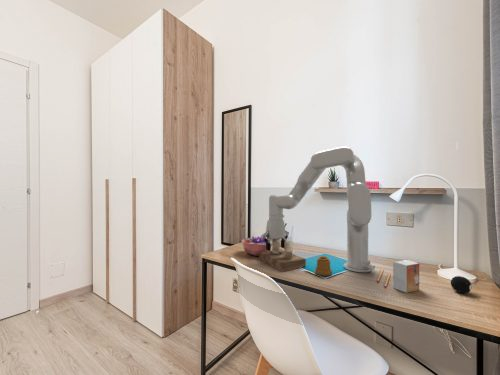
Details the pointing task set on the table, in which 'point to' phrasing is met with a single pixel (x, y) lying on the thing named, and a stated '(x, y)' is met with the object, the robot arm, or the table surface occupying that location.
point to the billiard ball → (461, 284)
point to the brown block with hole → (283, 258)
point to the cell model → (254, 245)
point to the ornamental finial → (323, 266)
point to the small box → (406, 275)
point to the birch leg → (276, 246)
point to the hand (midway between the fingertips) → (275, 248)
